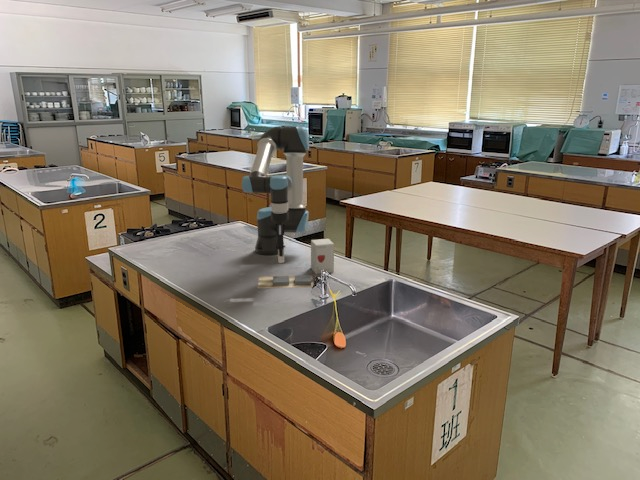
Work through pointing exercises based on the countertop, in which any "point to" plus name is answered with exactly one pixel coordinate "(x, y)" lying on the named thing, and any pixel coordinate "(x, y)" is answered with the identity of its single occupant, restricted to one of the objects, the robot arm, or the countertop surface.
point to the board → (268, 283)
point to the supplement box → (322, 255)
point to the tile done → (303, 280)
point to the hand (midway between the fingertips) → (281, 262)
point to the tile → (280, 280)
